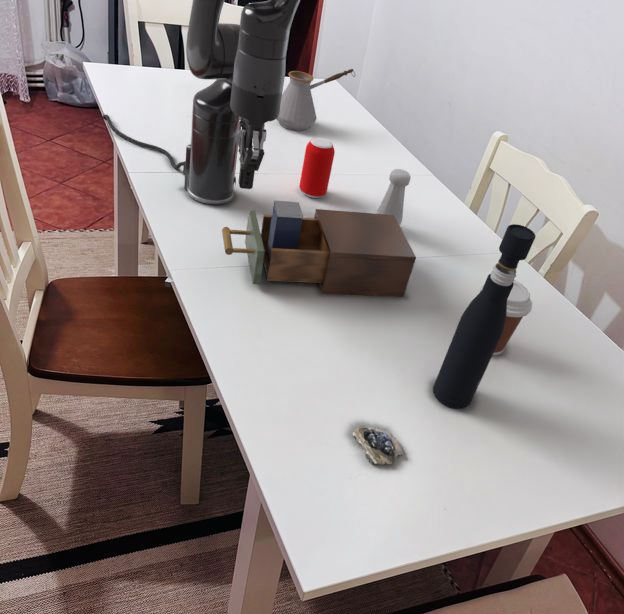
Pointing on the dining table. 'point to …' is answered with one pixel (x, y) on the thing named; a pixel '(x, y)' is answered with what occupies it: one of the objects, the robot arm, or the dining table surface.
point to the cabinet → (364, 254)
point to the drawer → (282, 252)
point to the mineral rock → (378, 444)
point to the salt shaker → (395, 195)
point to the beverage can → (317, 167)
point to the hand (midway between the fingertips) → (245, 186)
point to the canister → (284, 226)
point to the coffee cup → (514, 313)
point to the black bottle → (481, 324)
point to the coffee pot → (301, 100)
